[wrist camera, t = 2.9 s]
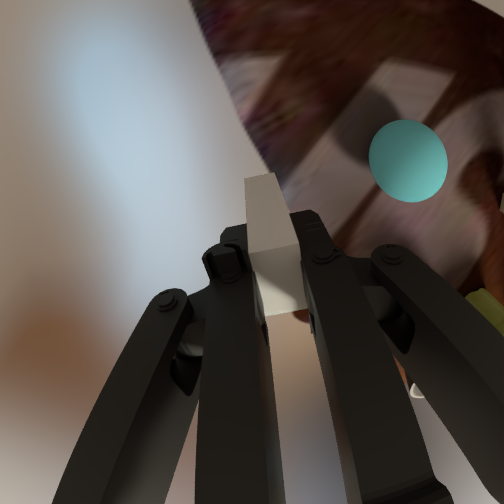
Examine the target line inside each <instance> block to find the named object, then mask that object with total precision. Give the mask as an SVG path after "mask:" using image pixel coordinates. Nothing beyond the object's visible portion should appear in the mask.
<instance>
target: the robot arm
mask: <svg viewBox="0 0 504 504" xmlns="http://www.w3.org/2000/svg"><path fill="white" fill-rule="evenodd" d="M244 181H245V198H246V199H245V200H246V218H247V223H246V224H241V225H237V226H232V227H228V228H226V229H225V230H224V231H223V233H222V234H221V236H220V243H219V244H216V245H214V246H212V247H211V248H209V249H208V250H207V251H206V252H205V253H204V254H203V256H202V261H203V264H204V266H205V269H206V271H207V274H208V276H209V279H210V283H209V285H208V286H207V287H206V288H204V289H202V290H200V291H198V292H196V293H193V294H191V295H189V296H187V294H186V292H185V291H183V290H182V289H177V288H173V289H167V290H165V291H163V292H160V293H159V294H158V295H156V296H155V297H154V298H153V299H152V300H151V302H150V303H149V305H148V307H147V308H146V310H145V312H144V314H143V315H142V317H141V319H140V320H139V322H138V324H137V326H136V327H135V329H134V331H133V333H132V335H131V336H130V338H129V340H128V342H127V343H126V346H125V347H124V349H123V351H122V353H121V355H120V356H119V358H118V360H117V362H116V364H115V366H114V368H113V370H112V371H111V373H110V375H109V377H108V379H107V381H106V383H105V385H104V387H103V389H102V391H101V393H100V395H99V397H98V399H97V401H96V403H95V405H94V407H93V409H92V411H91V413H90V415H89V417H88V419H87V421H86V424H85V426H84V428H83V430H82V432H81V435H80V437H79V439H78V441H77V443H76V446H75V448H74V450H73V452H72V454H71V457H70V459H69V461H68V464H67V466H66V469H65V471H64V473H63V476H62V478H61V481H60V483H59V486H58V489H57V491H56V494H55V496H54V499H53V502H52V504H164V503H165V500H166V497H167V493H168V491H169V488H170V485H171V482H172V479H173V475H174V472H175V469H176V466H177V463H178V460H179V457H180V454H181V451H182V448H183V445H184V442H185V439H186V436H187V433H188V430H189V427H190V424H191V421H192V418H193V415H194V412H195V409H196V406H197V403H198V400H199V408H198V425H197V444H196V445H197V446H196V469H195V504H286V501H285V490H284V480H283V471H282V460H281V450H280V440H279V431H278V422H277V411H276V402H275V392H274V383H273V373H272V364H271V356H270V346H269V337H268V329H267V324H266V321H265V316H271V315H276V314H281V313H286V312H291V311H296V310H301V309H306V308H308V310H309V319H310V328H311V333H313V335H314V340H315V344H316V348H317V352H318V357H319V361H320V365H321V370H322V374H323V378H324V383H325V387H326V392H327V397H328V401H329V406H330V411H331V416H332V420H333V425H334V430H335V435H336V440H337V446H338V451H339V456H340V461H341V467H342V473H343V478H344V484H345V490H346V496H347V502H348V504H454V502H453V499H452V496H451V494H450V492H449V491H448V489H447V488H446V486H444V485H443V484H442V483H441V482H439V481H438V480H437V479H436V477H435V475H434V473H433V470H432V466H431V463H430V459H429V456H428V452H427V449H426V446H425V443H424V439H423V436H422V433H421V430H420V427H419V424H418V421H417V418H416V415H415V412H414V409H413V407H412V404H411V401H410V398H409V396H408V393H407V390H406V388H405V385H404V382H403V380H402V377H401V375H400V372H399V370H398V367H397V365H396V362H395V360H394V357H395V358H396V359H397V361H398V362H399V363H400V365H401V366H402V367H403V369H404V370H405V371H406V373H407V374H408V375H409V377H410V378H411V379H412V381H413V382H414V383H415V385H416V386H417V387H418V389H419V390H420V391H421V393H422V394H423V396H424V397H425V398H426V400H427V401H428V403H429V404H430V405H431V407H432V408H433V410H434V411H435V412H436V414H437V415H438V417H439V418H440V419H441V421H442V422H443V424H444V425H445V427H446V428H447V430H448V431H449V432H450V434H451V435H452V437H453V438H454V440H455V441H456V443H457V444H458V446H459V447H460V449H461V450H462V452H463V453H464V455H465V456H466V458H467V460H468V461H469V463H470V464H471V466H472V467H473V469H474V470H475V472H476V474H477V475H478V477H479V479H480V480H481V482H482V483H483V485H484V486H485V488H486V489H487V490H488V492H489V493H490V494H491V495H492V496H493V497H494V498H495V499H496V500H497V501H498V502H499V503H500V504H504V336H503V335H502V334H501V333H500V332H499V331H498V330H497V329H496V328H495V327H494V326H493V325H492V324H491V323H490V322H489V321H488V320H487V319H486V318H485V317H484V316H483V315H482V314H481V313H480V312H479V311H478V310H477V309H476V308H475V307H474V306H473V305H472V304H471V303H470V302H468V301H467V300H466V299H465V298H464V297H463V296H462V295H461V294H460V293H459V292H458V291H456V290H455V289H454V288H453V287H452V286H451V285H450V284H449V283H448V282H446V281H445V280H444V279H443V278H442V277H441V276H439V275H438V274H437V273H436V272H435V271H434V270H432V269H431V268H430V267H429V266H428V265H426V264H425V263H424V262H423V261H422V260H420V259H419V258H418V257H417V256H415V255H414V254H413V253H412V252H410V251H409V250H408V249H406V248H404V247H403V246H399V245H395V244H386V245H382V246H379V247H377V248H376V249H374V251H373V252H372V254H371V258H353V257H349V256H346V254H345V253H344V251H343V250H342V249H341V248H339V247H337V246H335V245H334V244H333V242H332V240H331V238H330V236H329V234H328V232H327V230H326V228H325V226H324V224H323V222H322V220H321V218H320V217H319V215H318V214H317V213H315V212H314V211H312V210H306V211H300V212H295V213H290V214H289V212H288V210H287V207H286V204H285V201H284V198H283V195H282V193H281V190H280V187H279V184H278V182H277V179H276V176H275V173H270V174H265V175H260V176H255V177H250V178H246V179H244ZM307 305H308V307H307ZM264 313H265V315H264ZM392 354H393V355H394V357H393V355H392Z"/></svg>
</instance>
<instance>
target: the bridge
mask: <svg viewBox="0 0 504 504" xmlns="http://www.w3.org/2000/svg"><path fill="white" fill-rule="evenodd" d="M500 211H501V212H503V213H504V193H503V195H502V201H501V207H500Z"/></svg>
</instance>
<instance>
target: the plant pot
mask: <svg viewBox="0 0 504 504" xmlns="http://www.w3.org/2000/svg"><path fill="white" fill-rule="evenodd" d="M465 299H466V300H467V301H468V302H470V303H471V304H472V305H473V306H474V307H475V308H476V309H477V310H478V311H479V312H480V313H481V314H482V315H483V316H484V317H485V318H486V319H487V320H488V321H489V322H490V323H491V324H492V325H493V326H494V327H495V328H496V329H497V330H498V331H499V332H500V333H501V334H502V335H503V336H504V307H503V306H502V305H501V304H500V303H499V302H498V301H497V300H496V299H495V298H494V297H493V296H492V295H491V294H490V293H489V292H488V291H487V290H486V289H484V288H480V289H479V290H478V291H475V292H471V293H469V294H468V295H467V296H466V297H465Z"/></svg>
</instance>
